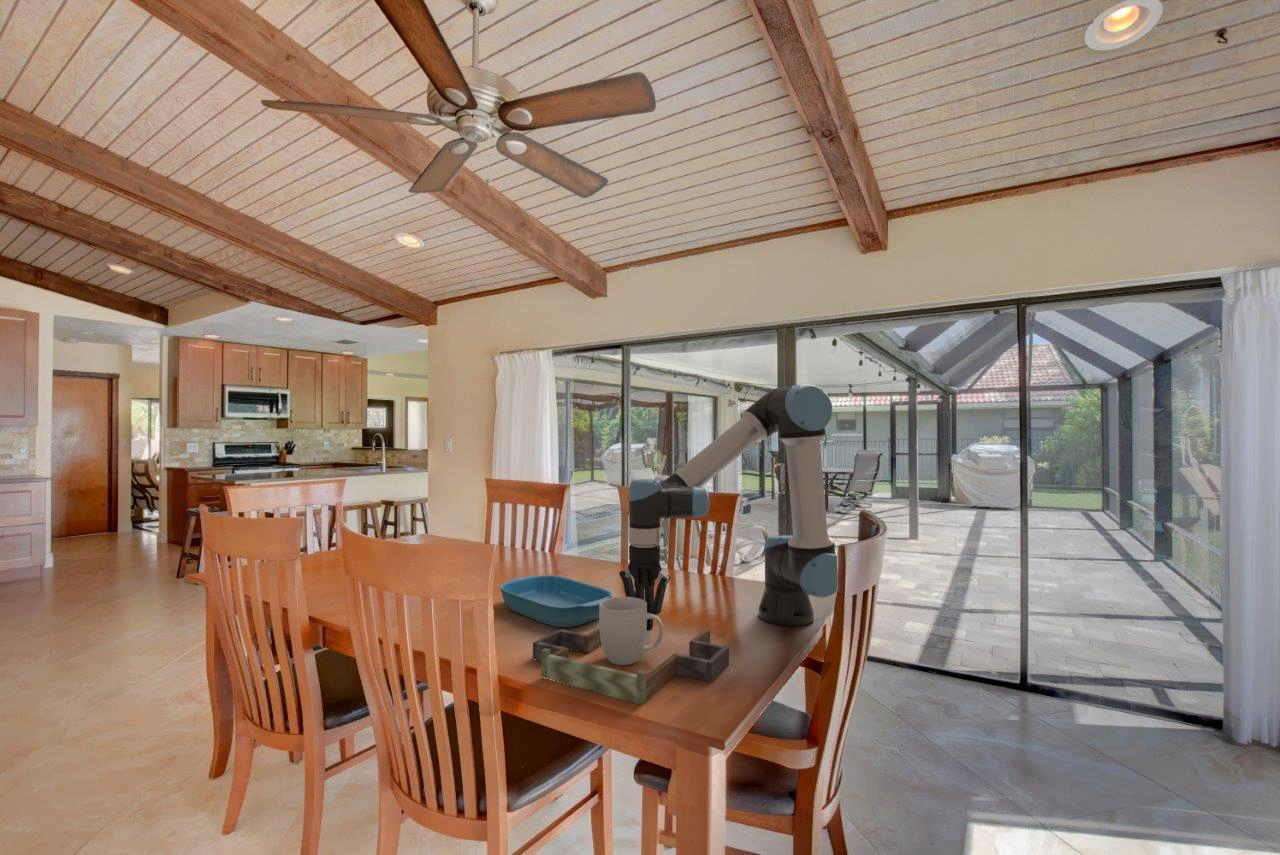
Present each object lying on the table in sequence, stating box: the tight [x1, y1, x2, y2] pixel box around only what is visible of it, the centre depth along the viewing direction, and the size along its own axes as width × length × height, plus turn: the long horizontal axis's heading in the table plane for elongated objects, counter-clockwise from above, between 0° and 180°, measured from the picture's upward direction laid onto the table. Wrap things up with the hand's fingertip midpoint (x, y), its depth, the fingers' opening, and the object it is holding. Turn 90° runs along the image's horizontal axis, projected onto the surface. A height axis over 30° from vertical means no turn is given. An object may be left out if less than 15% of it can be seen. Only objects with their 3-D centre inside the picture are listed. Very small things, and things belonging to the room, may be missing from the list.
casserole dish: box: [499, 574, 613, 628], centre depth 169 cm, size 37×22×7 cm, turn 47°
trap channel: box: [532, 627, 730, 706], centre depth 134 cm, size 40×35×6 cm
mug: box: [598, 596, 664, 666], centre depth 134 cm, size 15×11×13 cm
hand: (644, 642), depth 139 cm, fingers closed
